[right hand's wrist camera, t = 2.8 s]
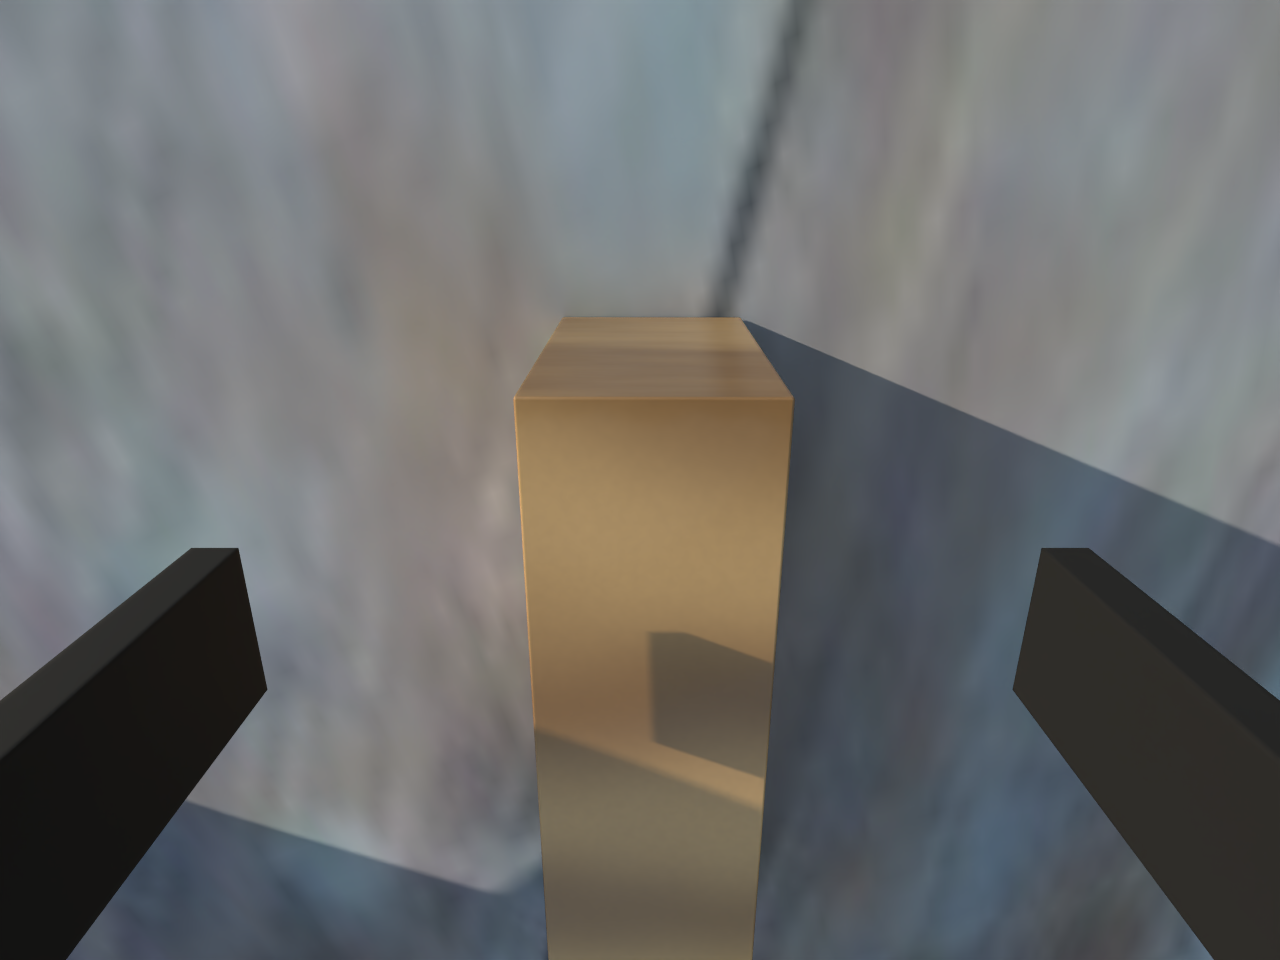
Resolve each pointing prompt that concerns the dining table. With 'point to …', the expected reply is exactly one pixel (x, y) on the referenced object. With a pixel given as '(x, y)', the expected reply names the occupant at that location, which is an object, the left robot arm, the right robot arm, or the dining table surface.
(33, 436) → the dining table surface
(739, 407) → the bar
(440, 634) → the dining table surface
